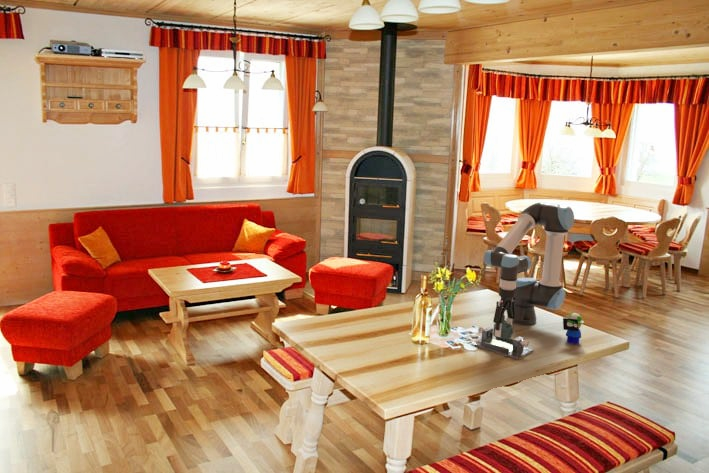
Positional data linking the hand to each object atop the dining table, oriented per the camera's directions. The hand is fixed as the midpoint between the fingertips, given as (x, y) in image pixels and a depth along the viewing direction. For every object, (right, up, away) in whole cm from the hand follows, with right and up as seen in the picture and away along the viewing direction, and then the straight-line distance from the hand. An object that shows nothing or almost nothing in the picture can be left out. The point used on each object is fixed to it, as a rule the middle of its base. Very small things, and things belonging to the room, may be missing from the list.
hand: (503, 333), depth 292 cm
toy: (+37, -6, +12) cm, 39 cm away
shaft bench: (0, -7, +2) cm, 7 cm away
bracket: (0, -1, +1) cm, 1 cm away
